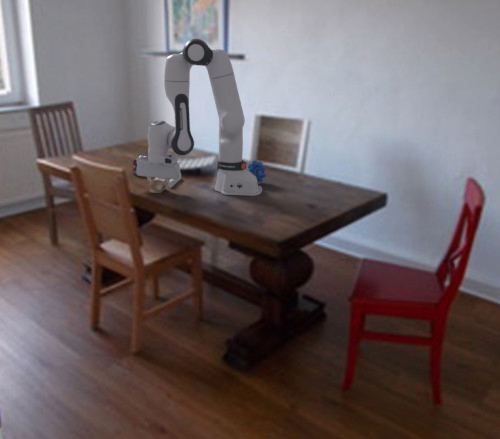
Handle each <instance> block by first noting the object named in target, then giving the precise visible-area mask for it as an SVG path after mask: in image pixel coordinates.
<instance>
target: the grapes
mask: <svg viewBox="0 0 500 439" xmlns="http://www.w3.org/2000/svg"><path fill="white" fill-rule="evenodd" d="M247 169H248V170H249V171H250V172H251V173H252V174H253V175H255V176H256V178H257V183H262V182H263V181H264V180H263V179H264V178H266V176H267V175H266V166H265V165H263V162H262V161H261V160H259V161H257V160H253V161H252V163H249V164H248V165H247Z"/></svg>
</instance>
